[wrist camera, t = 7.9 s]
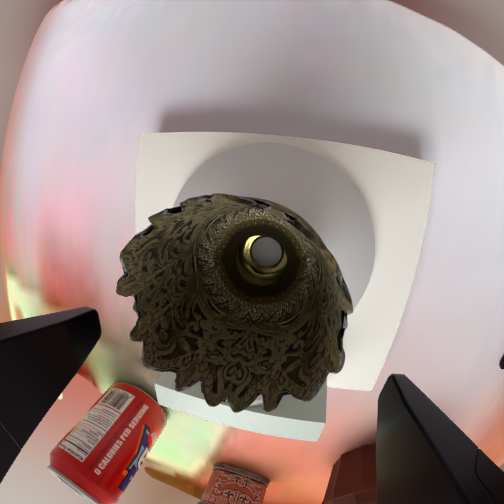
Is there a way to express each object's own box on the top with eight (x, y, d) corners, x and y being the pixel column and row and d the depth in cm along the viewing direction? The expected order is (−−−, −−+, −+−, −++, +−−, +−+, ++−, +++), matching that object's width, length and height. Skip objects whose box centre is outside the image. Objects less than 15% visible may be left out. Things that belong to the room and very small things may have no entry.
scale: (420, 163, 14) (483, 162, 7) (368, 370, 19) (378, 444, 12) (157, 136, 18) (82, 128, 11) (159, 330, 23) (109, 383, 16)
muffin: (324, 441, 23) (316, 522, 13) (424, 427, 20) (440, 501, 11) (323, 483, 26) (315, 543, 16) (403, 474, 23) (407, 532, 14)
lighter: (211, 468, 29) (187, 522, 20) (217, 460, 28) (192, 519, 18) (263, 485, 28) (247, 540, 19) (273, 479, 27) (257, 538, 18)
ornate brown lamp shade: (200, 182, 15) (100, 198, 7) (339, 184, 13) (370, 201, 6) (207, 305, 17) (138, 389, 9) (328, 317, 15) (328, 425, 8)
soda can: (136, 371, 25) (52, 467, 11) (183, 420, 26) (123, 521, 12) (104, 383, 28) (34, 458, 14) (145, 426, 29) (90, 505, 15)
